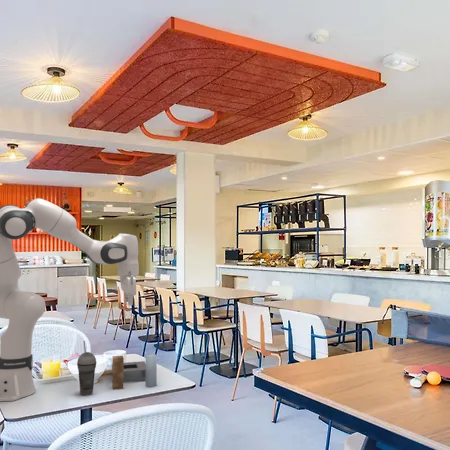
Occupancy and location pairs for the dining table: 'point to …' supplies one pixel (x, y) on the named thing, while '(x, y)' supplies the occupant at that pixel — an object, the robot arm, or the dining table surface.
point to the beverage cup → (86, 372)
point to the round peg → (151, 370)
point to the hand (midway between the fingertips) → (128, 303)
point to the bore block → (134, 371)
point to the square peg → (118, 372)
